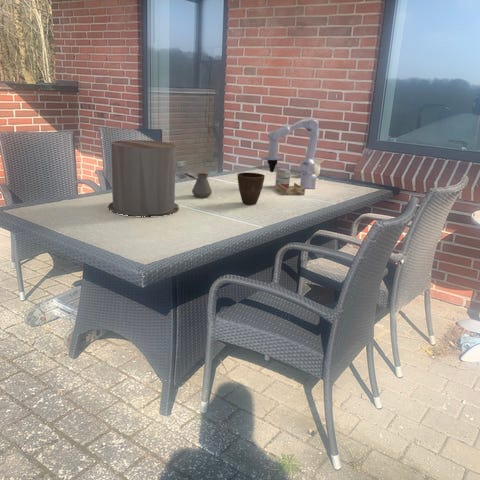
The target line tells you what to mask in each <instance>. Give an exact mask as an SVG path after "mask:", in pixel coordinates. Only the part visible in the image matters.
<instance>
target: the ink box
mask: <svg viewBox="0 0 480 480" xmlns="http://www.w3.org/2000/svg"><path fill="white" fill-rule="evenodd" d="M275 172H276V173H275V185H274V186H275V187H276V186H277V183H279V184H280V185H282V186H284V187H285V188H290V183H291V181H290V180H291V170H290V169H286V168H276V171H275Z"/></svg>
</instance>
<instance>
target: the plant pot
mask: <svg viewBox="0 0 480 480" xmlns="http://www.w3.org/2000/svg"><path fill="white" fill-rule="evenodd" d="M236 177H237V184H238V189H239V194H240V199H241V202H242V204H243V205H247V206H255V205H257V203H258V201H259V198H260V195H261V193H262V190H263V186H264V182H265V178H266V176H265V174H263V173H258V172H257V173H256V172H239V173H237V176H236Z"/></svg>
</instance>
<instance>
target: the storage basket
mask: <svg viewBox="0 0 480 480" xmlns="http://www.w3.org/2000/svg"><path fill="white" fill-rule="evenodd" d="M110 148H111V185H112V186H111V191H112V195H111V196H112V202H110V203H109V204H108V207H107V208H109V209H108V211H109V210H111V211H112V212H115V213H118V214H123V215H128V216H141V217H140V218H145V217H148V218H152V217H151V216H161V217H165V216H164V215H167V216H170V214H171V215H174V214H176V213H177V212H179V211H180V209H179V207H180V206H179V204H178V203H176V202H175V201H176V197H175V196H176V192H175V191H176V144H174V143H172V142H165V141H158V140H139V139H138V140H137V139H136V140H135V139H131V140H129V139H126V140H125V139H124V140H117V141H112V142H111V147H110ZM112 212H111V213H112ZM173 213H174V214H173ZM118 214H117V215H118ZM128 216H127V217H128ZM142 216H143V217H142ZM144 216H145V217H144Z"/></svg>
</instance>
